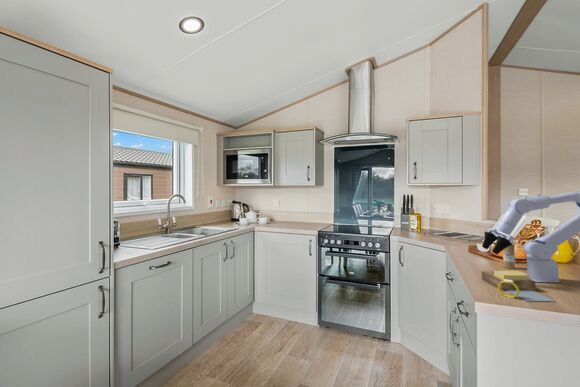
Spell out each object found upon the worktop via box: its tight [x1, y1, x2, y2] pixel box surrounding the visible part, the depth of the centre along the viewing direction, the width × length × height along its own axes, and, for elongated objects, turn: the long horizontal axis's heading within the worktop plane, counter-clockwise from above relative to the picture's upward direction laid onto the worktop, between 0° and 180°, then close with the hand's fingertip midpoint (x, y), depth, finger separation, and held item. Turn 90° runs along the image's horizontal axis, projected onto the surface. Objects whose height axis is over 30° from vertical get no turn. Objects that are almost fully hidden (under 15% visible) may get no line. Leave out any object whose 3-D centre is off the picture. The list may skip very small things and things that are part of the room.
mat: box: [505, 290, 556, 303], centre depth 101 cm, size 9×10×1 cm
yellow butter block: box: [494, 270, 529, 281], centre depth 110 cm, size 9×6×2 cm, turn 84°
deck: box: [481, 270, 537, 292], centre depth 113 cm, size 12×13×4 cm
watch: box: [497, 279, 519, 299], centre depth 101 cm, size 6×3×6 cm, turn 37°
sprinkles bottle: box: [502, 240, 516, 270], centre depth 135 cm, size 5×5×13 cm
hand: (489, 250), depth 122 cm, fingers open, 7 cm apart
